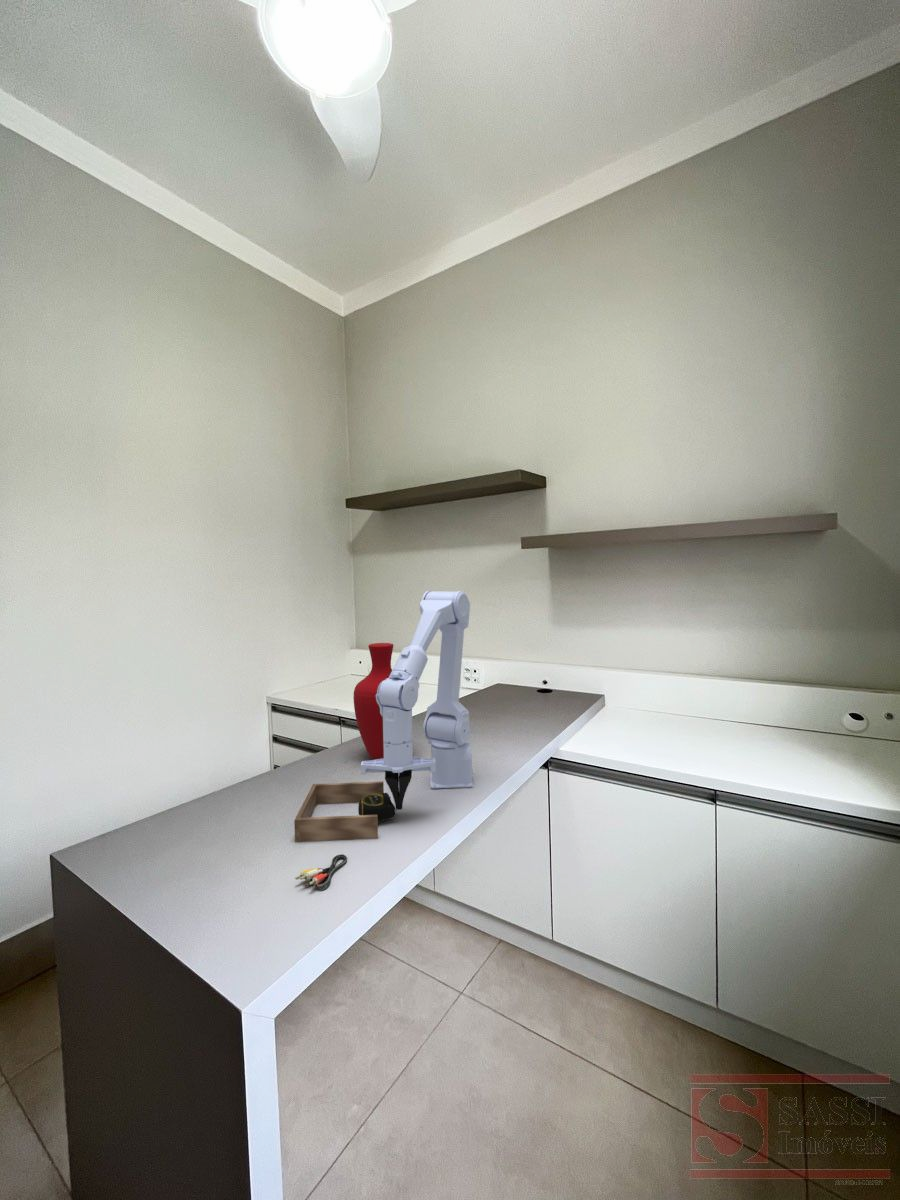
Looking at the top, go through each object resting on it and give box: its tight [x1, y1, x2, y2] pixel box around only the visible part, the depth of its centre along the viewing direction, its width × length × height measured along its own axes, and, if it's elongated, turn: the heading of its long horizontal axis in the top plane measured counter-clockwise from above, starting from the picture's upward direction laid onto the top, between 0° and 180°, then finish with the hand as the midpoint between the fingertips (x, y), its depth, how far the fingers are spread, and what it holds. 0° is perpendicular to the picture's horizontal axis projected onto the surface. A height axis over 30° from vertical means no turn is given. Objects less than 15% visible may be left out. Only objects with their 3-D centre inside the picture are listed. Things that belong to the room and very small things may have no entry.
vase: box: [353, 642, 394, 760], centre depth 130 cm, size 15×15×30 cm
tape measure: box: [357, 792, 396, 823], centre depth 98 cm, size 7×7×4 cm
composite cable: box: [294, 853, 348, 892], centre depth 79 cm, size 10×5×2 cm, turn 147°
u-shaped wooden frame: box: [293, 781, 385, 843], centre depth 98 cm, size 15×16×4 cm
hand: (399, 807), depth 98 cm, fingers closed
